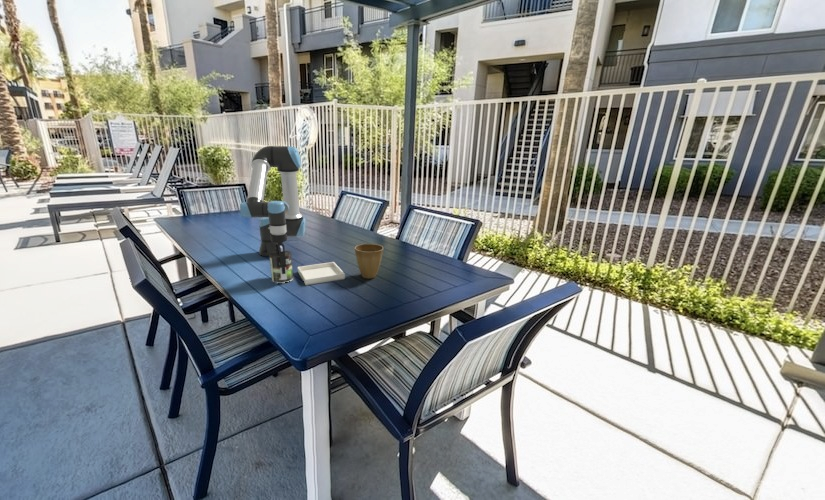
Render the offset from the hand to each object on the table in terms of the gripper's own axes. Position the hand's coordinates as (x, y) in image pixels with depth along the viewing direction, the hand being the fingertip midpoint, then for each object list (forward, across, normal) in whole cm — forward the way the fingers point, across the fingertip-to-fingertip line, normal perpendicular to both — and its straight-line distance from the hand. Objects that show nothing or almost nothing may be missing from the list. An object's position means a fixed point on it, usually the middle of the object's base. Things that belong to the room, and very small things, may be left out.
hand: (282, 275), depth 173 cm
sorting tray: (+2, +2, +19) cm, 19 cm away
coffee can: (+2, 0, 0) cm, 2 cm away
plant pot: (+3, +13, +42) cm, 44 cm away
